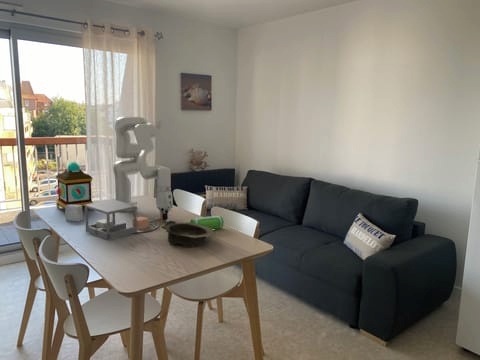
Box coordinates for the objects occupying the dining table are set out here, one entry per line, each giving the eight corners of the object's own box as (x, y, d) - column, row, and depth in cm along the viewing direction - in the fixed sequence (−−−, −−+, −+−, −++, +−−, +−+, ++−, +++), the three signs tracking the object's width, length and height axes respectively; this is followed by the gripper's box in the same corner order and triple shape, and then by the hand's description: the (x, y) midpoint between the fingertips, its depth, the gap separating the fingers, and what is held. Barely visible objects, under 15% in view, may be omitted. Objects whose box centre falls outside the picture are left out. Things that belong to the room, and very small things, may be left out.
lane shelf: (114, 224, 204) (113, 199, 201) (136, 232, 192) (136, 206, 189) (85, 231, 190) (84, 204, 188) (108, 240, 179) (107, 212, 176)
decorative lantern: (85, 203, 245) (83, 159, 239) (97, 210, 231) (95, 163, 225) (53, 207, 231) (51, 161, 226) (64, 215, 217) (61, 165, 212)
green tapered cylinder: (218, 226, 208) (218, 213, 206) (223, 230, 201) (224, 217, 200) (189, 230, 199) (189, 216, 198) (193, 234, 193) (194, 220, 192)
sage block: (106, 227, 198) (106, 218, 197) (113, 229, 194) (113, 220, 194) (96, 230, 193) (96, 221, 192) (103, 232, 190) (103, 223, 189)
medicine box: (82, 219, 210) (82, 205, 208) (78, 221, 205) (78, 207, 204) (69, 218, 210) (69, 204, 209) (65, 220, 206) (64, 206, 204)
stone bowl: (151, 244, 175) (152, 225, 174) (182, 234, 197) (183, 217, 196) (193, 254, 164) (194, 234, 163) (222, 242, 186) (223, 224, 185)
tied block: (161, 219, 215) (161, 209, 214) (168, 221, 212) (168, 211, 211) (132, 227, 199) (132, 216, 198) (139, 229, 196) (139, 219, 195)
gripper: (178, 189, 208) (177, 220, 211) (160, 185, 217) (160, 215, 220) (168, 191, 202) (168, 223, 205) (150, 187, 211) (150, 218, 215)
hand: (163, 219), depth 213 cm, fingers closed on tied block, 1 cm apart
